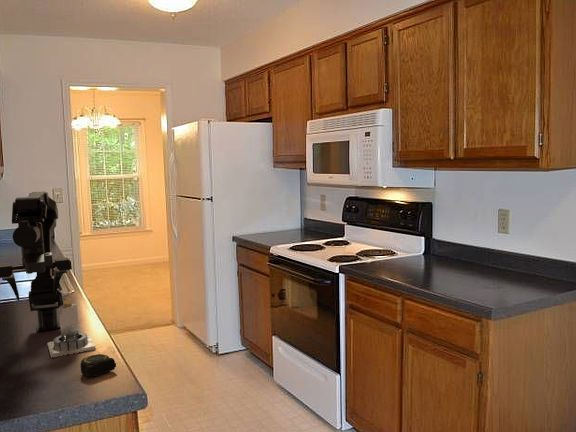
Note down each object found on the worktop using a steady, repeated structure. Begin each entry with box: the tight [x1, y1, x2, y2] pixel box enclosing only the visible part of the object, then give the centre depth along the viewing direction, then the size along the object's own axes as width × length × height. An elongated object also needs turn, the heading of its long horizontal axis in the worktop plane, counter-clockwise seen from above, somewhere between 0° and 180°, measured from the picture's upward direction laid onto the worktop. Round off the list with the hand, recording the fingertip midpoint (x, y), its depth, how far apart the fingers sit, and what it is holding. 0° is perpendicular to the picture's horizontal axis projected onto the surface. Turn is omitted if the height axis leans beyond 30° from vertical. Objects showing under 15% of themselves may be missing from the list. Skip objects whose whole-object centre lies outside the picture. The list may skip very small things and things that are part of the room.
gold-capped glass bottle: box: [58, 297, 80, 341], centre depth 148 cm, size 4×4×12 cm
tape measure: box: [80, 353, 117, 378], centre depth 129 cm, size 7×7×4 cm
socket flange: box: [47, 332, 97, 359], centre depth 148 cm, size 11×11×3 cm
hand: (36, 298), depth 152 cm, fingers open, 9 cm apart
